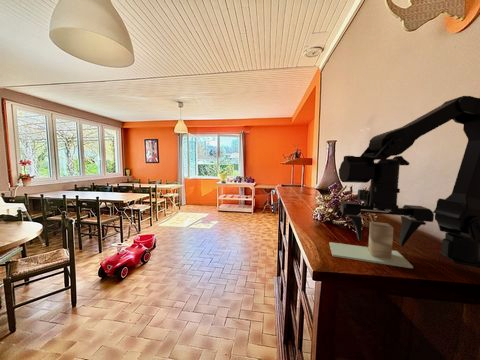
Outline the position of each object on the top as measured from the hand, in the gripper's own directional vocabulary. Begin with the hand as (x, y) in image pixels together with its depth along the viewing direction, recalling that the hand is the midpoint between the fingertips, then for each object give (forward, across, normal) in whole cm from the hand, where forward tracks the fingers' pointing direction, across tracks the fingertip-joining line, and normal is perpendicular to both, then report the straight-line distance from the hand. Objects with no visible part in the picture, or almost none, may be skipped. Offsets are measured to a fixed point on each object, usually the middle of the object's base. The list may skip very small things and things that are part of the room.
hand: (379, 242), depth 52 cm
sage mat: (+4, +3, 0) cm, 5 cm away
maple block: (+3, 0, 0) cm, 3 cm away
